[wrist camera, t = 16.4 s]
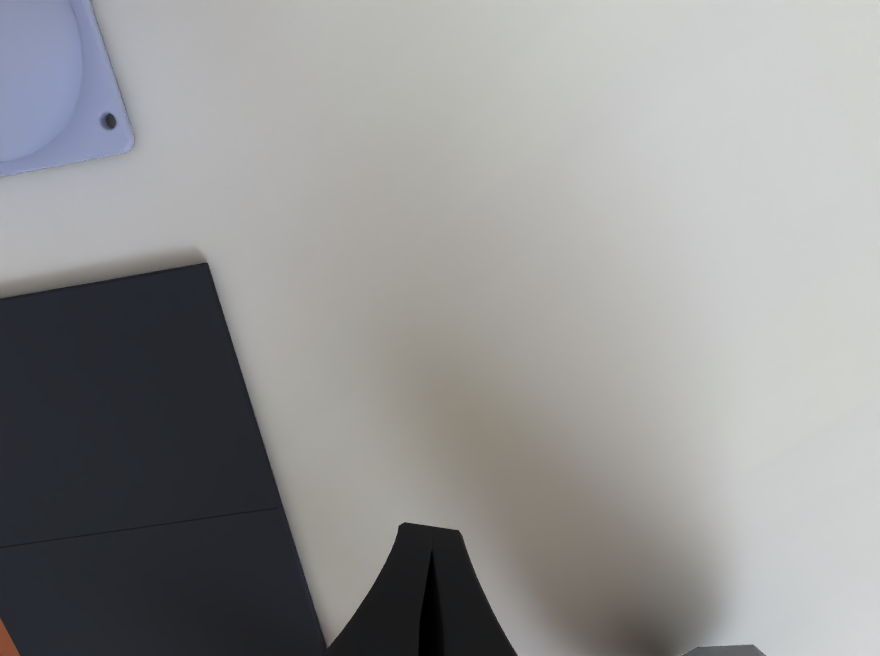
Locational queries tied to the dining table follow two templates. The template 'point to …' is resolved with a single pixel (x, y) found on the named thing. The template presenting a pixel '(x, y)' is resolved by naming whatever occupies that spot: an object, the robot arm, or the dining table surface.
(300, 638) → the mat
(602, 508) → the dining table surface
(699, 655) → the bottle
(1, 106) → the robot arm
